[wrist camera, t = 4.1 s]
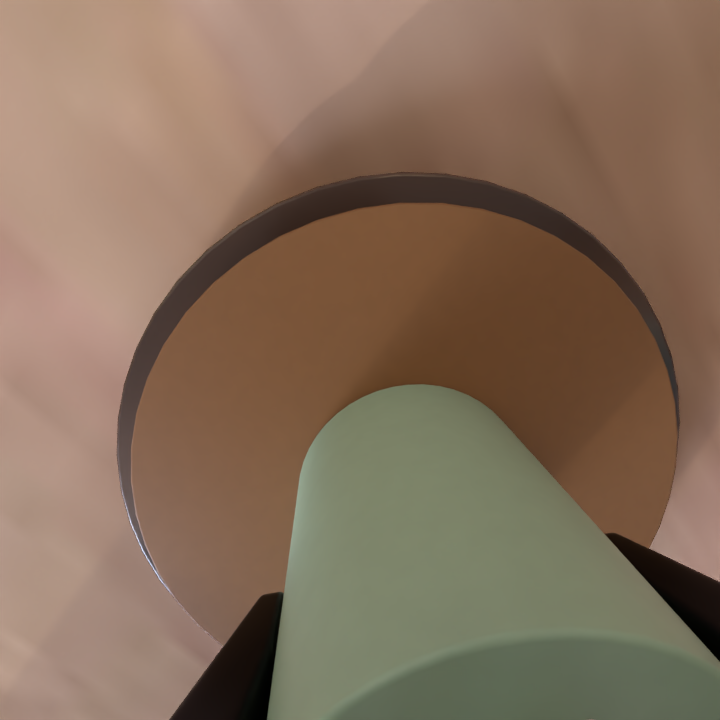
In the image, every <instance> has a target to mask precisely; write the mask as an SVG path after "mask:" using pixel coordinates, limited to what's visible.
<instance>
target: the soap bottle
mask: <svg viewBox="0 0 720 720" xmlns="http://www.w3.org/2000/svg"><path fill="white" fill-rule="evenodd" d="M677 439H678V431H677V419H676V407H675V400H674V395H673V391H672V387H671V383H670V378H669V374H668V370H667V368H666V365H665V363H664V360H663V357H662V355H661V352H660V350H659V347H658V345H657V342H656V340H655V338H654V336H653V335H652V333H651V331H650V330H649V328H648V326H647V324H646V323H645V321H644V319H643V318H642V316H641V314H640V313H639V311H638V309H637V308H636V307H635V306H634V304H633V303H632V302H631V301H630V299H629V298H628V297H627V296H626V295H625V293H624V292H623V291H622V290H621V288H620V287H619V286H618V285H617V284H616V282H615V281H614V280H613V279H611V278H610V277H609V276H608V275H607V274H606V273H605V272H604V271H603V270H601V269H600V268H599V267H598V266H597V265H596V264H595V263H594V262H593V261H591V260H590V259H589V258H588V257H587V256H585V255H584V254H582V253H581V252H579V251H578V250H576V249H574V248H573V247H571V246H570V245H568V244H567V243H565V242H564V241H562V240H561V239H559V238H558V237H556V236H554V235H552V234H550V233H548V232H545V231H543V230H541V229H539V228H537V227H535V226H532V225H530V224H528V223H526V222H524V221H522V220H519V219H515V218H512V217H508V216H505V215H502V214H498V213H495V212H492V211H488V210H485V209H480V208H473V207H467V206H460V205H453V204H446V203H395V204H387V205H380V206H372V207H365V208H358V209H354V210H351V211H347V212H344V213H340V214H336V215H333V216H329V217H326V218H322V219H318V220H316V221H314V222H311V223H309V224H307V225H304V226H302V227H300V228H297V229H295V230H293V231H291V232H288V233H286V234H284V235H281V236H279V237H277V238H276V239H274V240H272V241H271V242H269V243H268V244H266V245H264V246H263V247H261V248H259V249H258V250H256V251H254V252H253V253H251V254H249V255H248V256H246V257H245V258H243V259H242V260H241V261H239V262H238V263H237V264H236V265H235V266H233V267H232V268H231V269H230V270H228V271H227V272H226V273H225V274H224V275H222V276H221V277H220V278H219V279H217V280H216V281H215V282H214V283H213V284H212V285H211V286H210V287H209V288H208V289H207V290H206V291H205V292H204V293H203V294H202V295H201V296H200V298H199V299H198V300H197V301H196V302H195V303H194V304H193V305H192V306H191V307H190V308H189V310H188V311H187V312H186V313H185V314H184V316H183V317H182V319H181V320H180V322H179V323H178V324H177V326H176V327H175V329H174V330H173V332H172V333H171V335H170V336H169V338H168V339H167V341H166V342H165V343H164V345H163V347H162V349H161V351H160V353H159V355H158V357H157V359H156V361H155V363H154V365H153V368H152V370H151V372H150V374H149V376H148V378H147V381H146V384H145V387H144V390H143V393H142V397H141V400H140V403H139V406H138V409H137V413H136V419H135V425H134V432H133V438H132V444H131V485H132V492H133V499H134V506H135V513H136V517H137V520H138V523H139V527H140V530H141V533H142V537H143V540H144V543H145V546H146V548H147V550H148V552H149V555H150V557H151V559H152V561H153V563H154V565H155V567H156V570H157V572H158V574H159V575H160V577H161V578H162V580H163V581H164V583H165V585H166V586H167V588H168V589H169V591H170V592H171V594H172V595H173V597H174V598H175V600H176V601H177V602H178V603H179V604H180V606H181V607H182V608H183V609H184V610H185V611H186V613H187V614H188V615H189V616H190V617H191V618H192V619H193V621H194V622H195V623H196V624H197V625H198V626H199V627H201V628H202V629H203V630H204V631H205V632H206V633H207V634H208V635H210V636H211V637H212V638H213V639H214V640H215V641H216V642H217V643H219V644H220V645H222V646H224V645H225V644H226V642H227V641H228V640H229V638H230V637H231V635H232V634H233V633H234V631H235V630H236V629H237V627H238V626H239V625H240V623H241V622H242V621H243V619H244V618H245V616H246V615H247V614H248V612H249V611H250V610H251V608H252V607H253V606H254V604H255V603H256V602H257V600H258V599H259V598H260V597H261V596H262V595H264V594H269V593H275V592H283V593H284V597H283V604H282V611H281V619H280V626H279V633H278V641H277V648H276V656H275V663H274V670H273V678H272V685H271V693H270V700H269V707H268V715H267V720H720V661H719V660H718V659H717V658H716V657H715V656H714V655H713V654H712V653H711V652H710V650H709V649H708V648H707V647H706V646H705V645H704V644H703V643H702V642H701V640H700V639H699V638H698V637H697V636H696V635H695V634H694V633H693V632H692V630H691V629H690V628H689V627H688V626H687V625H686V624H685V623H684V622H683V620H682V619H681V618H680V617H679V616H678V615H677V614H676V613H675V612H674V611H673V609H672V608H671V607H670V606H669V605H668V604H667V603H666V602H665V601H664V599H663V598H662V597H661V596H660V595H659V594H658V593H657V592H656V591H655V589H654V588H653V587H652V586H651V585H650V584H649V583H648V582H647V581H646V579H645V578H644V577H643V576H642V575H641V574H640V573H639V572H638V571H637V570H636V568H635V567H634V566H633V565H632V564H631V563H630V562H629V561H628V560H627V558H626V557H625V556H624V555H623V554H622V553H621V552H620V551H619V550H618V548H617V547H616V546H615V545H614V544H613V543H612V542H611V541H610V540H609V538H608V537H607V536H606V535H605V534H606V533H617V534H619V535H621V536H623V537H626V538H628V539H630V540H632V541H634V542H636V543H638V544H640V545H642V546H645V547H647V548H649V547H650V545H651V543H652V541H653V539H654V537H655V535H656V533H657V531H658V529H659V527H660V524H661V521H662V518H663V515H664V512H665V509H666V506H667V503H668V500H669V497H670V493H671V488H672V483H673V478H674V473H675V468H676V455H677Z"/></svg>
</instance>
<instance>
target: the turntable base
mask: <svg viewBox="0 0 720 720" xmlns="http://www.w3.org/2000/svg"><path fill="white" fill-rule="evenodd" d="M395 203H446V204H453V205H460V206H467V207H473V208H480V209H485V210H488V211H492V212H495V213H498V214H502V215H505V216H508V217H512V218H515V219H519V220H522V221H524V222H526V223H528V224H530V225H532V226H535V227H537V228H539V229H541V230H543V231H545V232H548V233H550V234H552V235H554V236H556V237H558V238H559V239H561V240H562V241H564V242H565V243H567V244H568V245H570V246H571V247H573V248H574V249H576V250H578V251H579V252H581V253H582V254H584V255H585V256H587V257H588V258H589V259H590V260H591V261H593V262H594V263H595V264H596V265H597V266H598V267H599V268H600V269H601V270H603V271H604V272H605V273H606V274H607V275H608V276H609V277H610V278H611V279H613V280H614V281H615V282H616V284H617V285H618V286H619V287H620V288H621V290H622V291H623V292H624V293H625V295H626V296H627V297H628V298H629V299H630V301H631V302H632V303H633V304H634V306H635V307H636V308H637V309H638V311H639V313H640V314H641V316H642V318H643V319H644V321H645V323H646V324H647V326H648V328H649V330H650V331H651V333H652V335H653V336H654V338H655V340H656V342H657V345H658V347H659V350H660V352H661V355H662V357H663V360H664V363H665V365H666V368H667V370H668V374H669V378H670V383H671V387H672V391H673V395H674V400H675V407H676V419H677V431H678V437H679V426H680V417H679V397H678V386H677V381H676V376H675V371H674V366H673V361H672V356H671V353H670V350H669V347H668V345H667V342H666V339H665V336H664V333H663V331H662V328H661V325H660V323H659V321H658V319H657V317H656V315H655V313H654V311H653V310H652V308H651V306H650V304H649V302H648V300H647V298H646V296H645V295H644V293H643V291H642V290H641V289H640V287H639V286H638V285H637V283H636V282H635V281H634V279H633V278H632V277H631V275H630V274H629V273H628V271H627V270H626V269H625V267H624V266H623V265H622V263H621V262H620V261H619V260H618V259H617V258H616V257H615V256H614V255H613V254H612V253H611V252H610V251H609V250H608V249H607V248H606V247H605V246H604V245H603V244H602V243H601V242H600V241H599V240H598V239H597V238H596V237H594V236H593V235H592V234H591V233H589V232H588V231H587V230H585V229H584V228H582V227H581V226H580V225H578V224H577V223H575V222H574V221H573V220H571V219H570V218H568V217H567V216H566V215H564V214H563V213H561V212H559V211H557V210H555V209H553V208H552V207H550V206H548V205H546V204H544V203H542V202H540V201H538V200H536V199H534V198H532V197H530V196H528V195H526V194H523V193H520V192H517V191H514V190H511V189H508V188H505V187H502V186H500V185H497V184H494V183H491V182H488V181H483V180H477V179H472V178H466V177H461V176H455V175H450V174H440V173H414V172H399V173H389V174H379V175H369V176H360V177H356V178H351V179H347V180H343V181H339V182H335V183H331V184H327V185H323V186H319V187H316V188H313V189H311V190H308V191H306V192H303V193H301V194H298V195H296V196H293V197H291V198H288V199H286V200H284V201H281V202H279V203H276V204H275V205H273V206H271V207H269V208H268V209H266V210H264V211H262V212H261V213H259V214H257V215H255V216H254V217H252V218H250V219H248V220H247V221H245V222H243V223H241V224H240V225H238V226H237V227H236V228H235V229H233V230H232V231H231V232H229V233H228V234H227V235H226V236H224V237H223V238H222V239H220V240H219V241H218V242H217V243H215V244H214V245H213V246H212V247H210V248H209V249H208V250H206V251H205V252H204V253H203V254H202V256H201V257H200V258H199V259H198V260H197V261H196V262H195V263H194V264H193V265H192V266H191V267H190V268H189V269H188V270H187V271H186V272H185V273H184V274H183V275H182V276H181V277H180V278H179V279H178V281H177V282H176V283H175V285H174V286H173V288H172V289H171V290H170V292H169V293H168V295H167V296H166V297H165V299H164V300H163V301H162V303H161V304H160V306H159V307H158V308H157V310H156V311H155V313H154V314H153V316H152V318H151V320H150V322H149V324H148V326H147V328H146V330H145V332H144V334H143V336H142V338H141V340H140V342H139V344H138V346H137V348H136V350H135V353H134V356H133V359H132V362H131V365H130V368H129V371H128V374H127V377H126V380H125V383H124V388H123V394H122V399H121V405H120V410H119V416H118V433H117V461H118V470H119V478H120V486H121V492H122V496H123V499H124V503H125V507H126V510H127V514H128V518H129V521H130V524H131V526H132V529H133V531H134V533H135V536H136V538H137V540H138V543H139V545H140V547H141V549H142V552H143V554H144V555H145V557H146V559H147V560H148V562H149V563H150V565H151V567H152V568H153V570H154V572H155V573H156V575H157V577H158V578H159V580H160V581H161V582H162V584H163V585H164V586H165V587H166V589H167V590H168V591H169V589H168V588H167V586H166V585H165V583H164V581H163V580H162V578H161V577H160V575H159V574H158V572H157V570H156V567H155V565H154V563H153V561H152V559H151V557H150V555H149V552H148V550H147V548H146V546H145V543H144V540H143V537H142V533H141V530H140V527H139V523H138V520H137V517H136V513H135V506H134V499H133V492H132V485H131V444H132V438H133V432H134V425H135V419H136V413H137V409H138V406H139V403H140V400H141V397H142V393H143V390H144V387H145V384H146V381H147V378H148V376H149V374H150V372H151V370H152V368H153V365H154V363H155V361H156V359H157V357H158V355H159V353H160V351H161V349H162V347H163V345H164V343H165V342H166V341H167V339H168V338H169V336H170V335H171V333H172V332H173V330H174V329H175V327H176V326H177V324H178V323H179V322H180V320H181V319H182V317H183V316H184V314H185V313H186V312H187V311H188V310H189V308H190V307H191V306H192V305H193V304H194V303H195V302H196V301H197V300H198V299H199V298H200V296H201V295H202V294H203V293H204V292H205V291H206V290H207V289H208V288H209V287H210V286H211V285H212V284H213V283H214V282H215V281H216V280H217V279H219V278H220V277H221V276H222V275H224V274H225V273H226V272H227V271H228V270H230V269H231V268H232V267H233V266H235V265H236V264H237V263H238V262H239V261H241V260H242V259H243V258H245V257H246V256H248V255H249V254H251V253H253V252H254V251H256V250H258V249H259V248H261V247H263V246H264V245H266V244H268V243H269V242H271V241H272V240H274V239H276V238H277V237H279V236H281V235H284V234H286V233H288V232H291V231H293V230H295V229H297V228H300V227H302V226H304V225H307V224H309V223H311V222H314V221H316V220H318V219H322V218H326V217H329V216H333V215H336V214H340V213H344V212H347V211H351V210H354V209H358V208H365V207H372V206H380V205H387V204H395ZM677 448H678V439H677ZM676 457H677V455H676ZM169 592H170V591H169ZM170 593H171V592H170ZM171 595H172V594H171ZM172 596H173V595H172Z"/></svg>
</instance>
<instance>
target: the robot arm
mask: <svg viewBox="0 0 720 720" xmlns="http://www.w3.org/2000/svg"><path fill="white" fill-rule="evenodd" d="M605 535H606V536H607V537H608V538H609V540H610V541H611V542H612V543H613V544H614V545H615V546H616V547H617V548H618V550H619V551H620V552H621V553H622V554H623V555H624V556H625V557H626V558H627V560H628V561H629V562H630V563H631V564H632V565H633V566H634V567H635V568H636V570H637V571H638V572H639V573H640V574H641V575H642V576H643V577H644V578H645V579H646V581H647V582H648V583H649V584H650V585H651V586H652V587H653V588H654V589H655V591H656V592H657V593H658V594H659V595H660V596H661V597H662V598H663V599H664V601H665V602H666V603H667V604H668V605H669V606H670V607H671V608H672V609H673V611H674V612H675V613H676V614H677V615H678V616H679V617H680V618H681V619H682V620H683V622H684V623H685V624H686V625H687V626H688V627H689V628H690V629H691V630H692V632H693V633H694V634H695V635H696V636H697V637H698V638H699V639H700V640H701V642H702V643H703V644H704V645H705V646H706V647H707V648H708V649H709V650H710V652H711V653H712V654H713V655H714V656H715V657H716V658H717V659H718V660H719V661H720V582H718V581H716V580H714V579H712V578H710V577H708V576H706V575H704V574H701V573H699V572H697V571H695V570H693V569H691V568H689V567H687V566H685V565H683V564H680V563H678V562H676V561H674V560H672V559H670V558H668V557H666V556H664V555H661V554H659V553H657V552H655V551H653V550H651V549H649V548H647V547H645V546H642V545H640V544H638V543H636V542H634V541H632V540H630V539H628V538H626V537H623V536H621V535H619V534H617V533H606V534H605ZM283 597H284V593H283V592H275V593H269V594H264V595H262V596H261V597H260V598H259V599H258V600H257V602H256V603H255V604H254V606H253V607H252V608H251V610H250V611H249V612H248V614H247V615H246V616H245V618H244V619H243V621H242V622H241V623H240V625H239V626H238V627H237V629H236V630H235V631H234V633H233V634H232V635H231V637H230V638H229V640H228V641H227V642H226V644H225V645H224V646H223V648H222V649H221V650H220V652H219V653H218V654H217V656H216V657H215V659H214V660H213V661H212V663H211V664H210V665H209V667H208V668H207V669H206V671H205V672H204V673H203V675H202V676H201V678H200V679H199V680H198V682H197V683H196V684H195V686H194V687H193V688H192V690H191V691H190V692H189V694H188V695H187V697H186V698H185V699H184V701H183V702H182V703H181V705H180V706H179V707H178V709H177V710H176V711H175V713H174V714H173V716H172V717H171V718H170V720H267V715H268V707H269V700H270V693H271V685H272V678H273V670H274V663H275V656H276V648H277V641H278V633H279V626H280V619H281V611H282V604H283Z"/></svg>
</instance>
